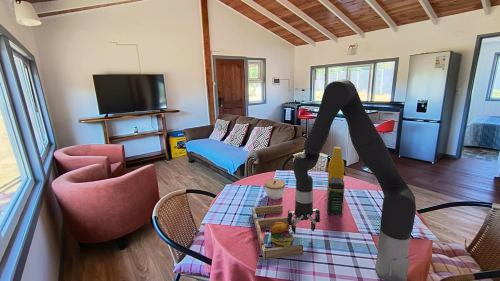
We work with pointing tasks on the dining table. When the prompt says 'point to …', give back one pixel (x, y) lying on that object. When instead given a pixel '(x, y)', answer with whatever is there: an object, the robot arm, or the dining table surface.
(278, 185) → the lidded bowl
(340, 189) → the coffee jar
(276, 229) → the cheeseburger
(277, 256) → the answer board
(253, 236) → the dining table surface
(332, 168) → the beer bottle
